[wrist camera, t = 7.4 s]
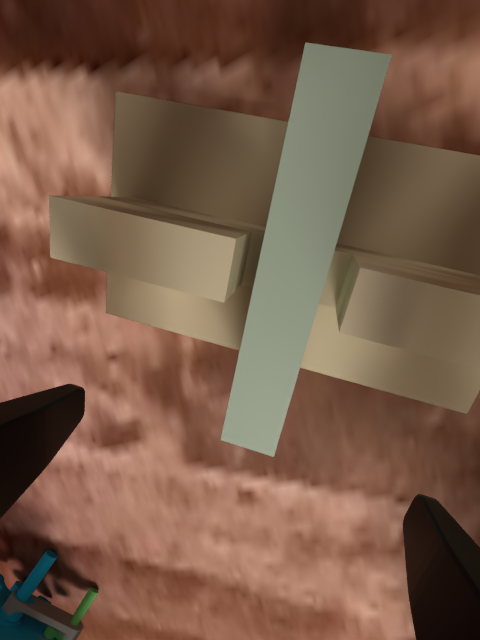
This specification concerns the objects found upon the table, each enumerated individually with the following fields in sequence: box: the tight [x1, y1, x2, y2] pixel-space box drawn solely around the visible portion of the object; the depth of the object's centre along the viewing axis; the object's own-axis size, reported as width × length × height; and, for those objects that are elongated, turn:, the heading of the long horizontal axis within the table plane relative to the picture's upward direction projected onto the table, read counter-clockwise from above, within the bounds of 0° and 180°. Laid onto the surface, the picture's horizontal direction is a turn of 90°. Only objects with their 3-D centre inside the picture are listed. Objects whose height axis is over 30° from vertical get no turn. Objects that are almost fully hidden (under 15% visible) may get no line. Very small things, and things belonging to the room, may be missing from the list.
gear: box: [0, 550, 98, 640], centre depth 26 cm, size 11×6×10 cm
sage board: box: [221, 42, 392, 457], centre depth 12 cm, size 2×12×5 cm, turn 169°
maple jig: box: [49, 91, 480, 414], centre depth 12 cm, size 18×10×6 cm, turn 79°
